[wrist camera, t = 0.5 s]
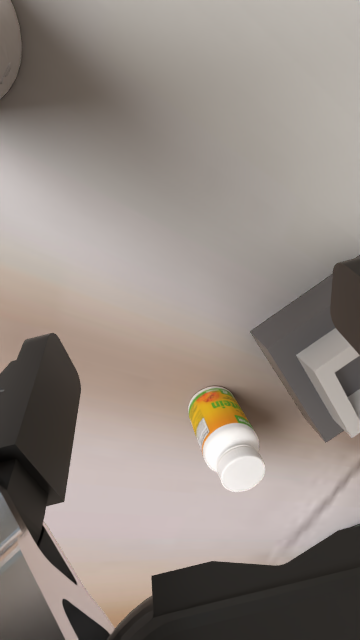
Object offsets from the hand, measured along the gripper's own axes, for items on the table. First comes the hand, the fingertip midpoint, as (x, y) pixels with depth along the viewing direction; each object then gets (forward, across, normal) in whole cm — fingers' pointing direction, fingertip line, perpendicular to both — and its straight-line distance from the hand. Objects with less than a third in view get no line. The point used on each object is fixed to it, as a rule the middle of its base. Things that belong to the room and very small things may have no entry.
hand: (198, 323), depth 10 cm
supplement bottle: (+17, 0, +24) cm, 29 cm away
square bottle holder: (+19, -15, +21) cm, 32 cm away
